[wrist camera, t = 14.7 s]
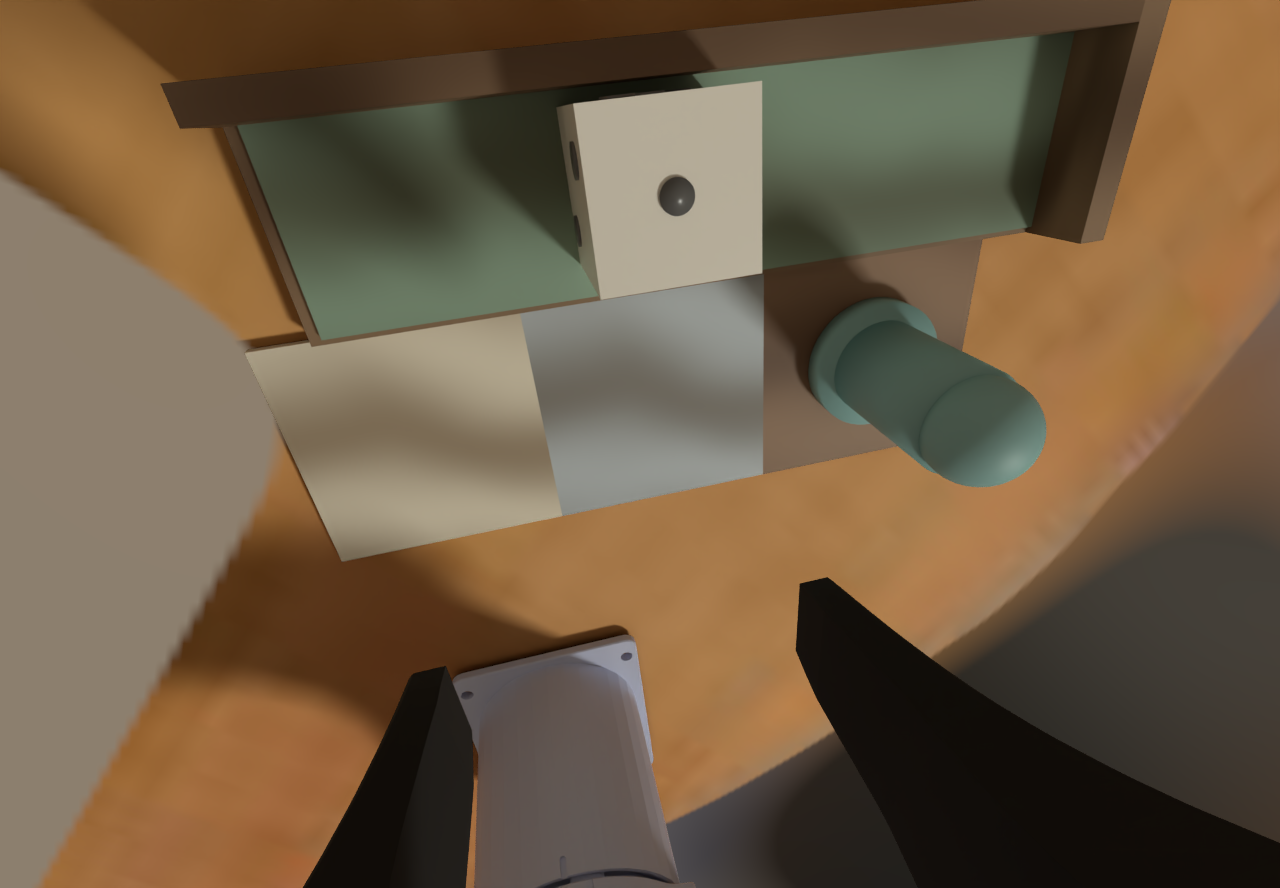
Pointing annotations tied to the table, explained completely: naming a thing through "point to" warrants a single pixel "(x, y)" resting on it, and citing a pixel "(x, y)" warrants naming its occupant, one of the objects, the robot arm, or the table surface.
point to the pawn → (925, 394)
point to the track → (583, 400)
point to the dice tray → (585, 70)
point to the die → (666, 186)
